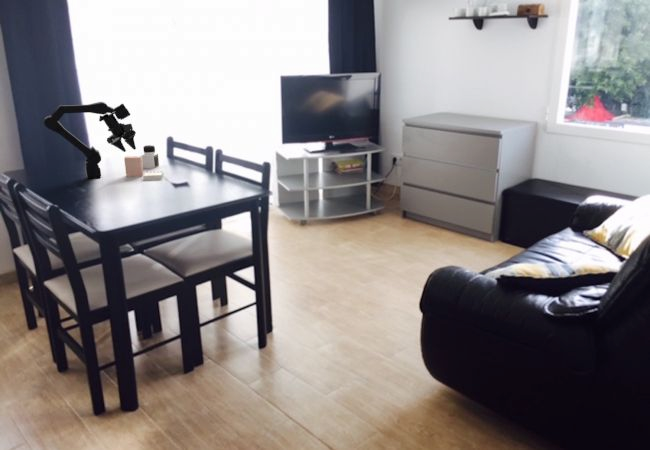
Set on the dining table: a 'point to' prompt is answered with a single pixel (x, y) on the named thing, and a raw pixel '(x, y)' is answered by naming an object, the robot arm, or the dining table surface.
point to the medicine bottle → (150, 157)
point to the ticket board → (153, 175)
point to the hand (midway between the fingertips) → (130, 150)
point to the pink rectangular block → (133, 166)
